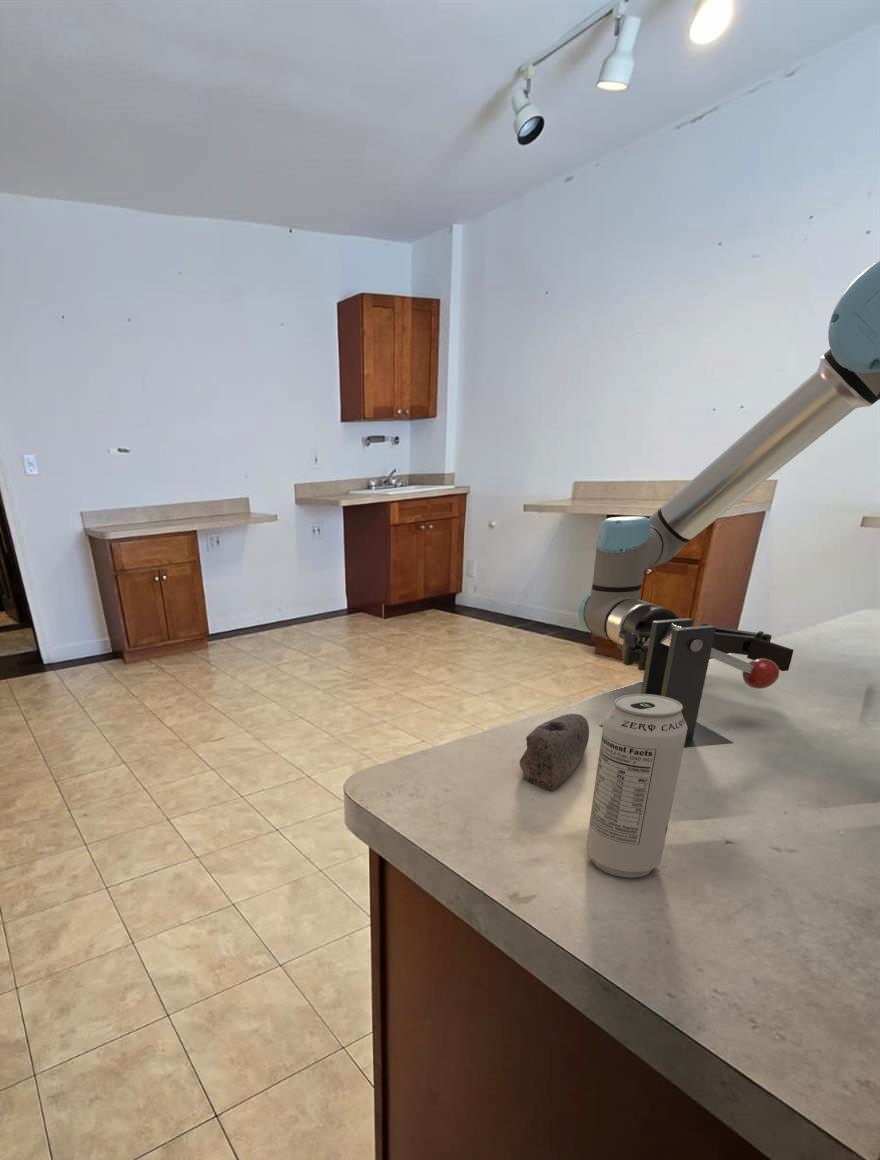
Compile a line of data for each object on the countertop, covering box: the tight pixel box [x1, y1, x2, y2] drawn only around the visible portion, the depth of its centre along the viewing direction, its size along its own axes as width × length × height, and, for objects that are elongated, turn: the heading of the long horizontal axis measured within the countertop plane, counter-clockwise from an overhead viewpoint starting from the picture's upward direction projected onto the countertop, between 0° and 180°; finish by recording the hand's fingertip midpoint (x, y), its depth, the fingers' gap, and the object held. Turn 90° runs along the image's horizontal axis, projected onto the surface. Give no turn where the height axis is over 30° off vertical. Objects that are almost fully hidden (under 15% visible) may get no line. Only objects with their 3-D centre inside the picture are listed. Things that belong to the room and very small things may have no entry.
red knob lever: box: [660, 624, 780, 690], centre depth 75 cm, size 15×4×4 cm, turn 94°
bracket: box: [598, 617, 735, 749], centre depth 76 cm, size 12×9×15 cm
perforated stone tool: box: [519, 713, 590, 792], centre depth 72 cm, size 15×5×7 cm, turn 139°
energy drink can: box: [585, 693, 688, 879], centre depth 54 cm, size 6×6×15 cm
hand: (736, 665), depth 80 cm, fingers open, 13 cm apart
